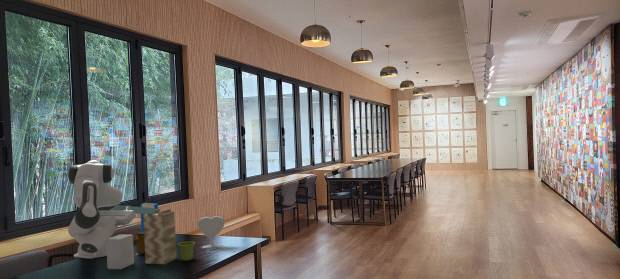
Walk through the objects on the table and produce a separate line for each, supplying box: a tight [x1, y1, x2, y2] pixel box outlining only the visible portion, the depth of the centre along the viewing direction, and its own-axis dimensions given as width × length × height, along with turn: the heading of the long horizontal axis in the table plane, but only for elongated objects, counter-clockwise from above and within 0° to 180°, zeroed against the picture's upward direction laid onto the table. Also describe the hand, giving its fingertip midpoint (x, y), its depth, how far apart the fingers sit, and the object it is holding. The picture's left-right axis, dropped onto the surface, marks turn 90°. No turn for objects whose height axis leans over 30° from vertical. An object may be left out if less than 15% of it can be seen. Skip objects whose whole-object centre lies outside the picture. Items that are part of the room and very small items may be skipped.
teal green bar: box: [113, 202, 155, 215], centre depth 235 cm, size 4×21×6 cm, turn 144°
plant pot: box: [176, 241, 196, 261], centre depth 248 cm, size 9×9×9 cm
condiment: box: [134, 231, 145, 256], centre depth 267 cm, size 7×8×12 cm
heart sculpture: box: [197, 215, 225, 249], centre depth 276 cm, size 16×5×18 cm, turn 97°
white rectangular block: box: [106, 234, 135, 270], centre depth 240 cm, size 8×11×16 cm
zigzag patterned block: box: [143, 208, 177, 265], centre depth 247 cm, size 12×11×28 cm
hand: (122, 206), depth 230 cm, fingers closed on teal green bar, 5 cm apart
